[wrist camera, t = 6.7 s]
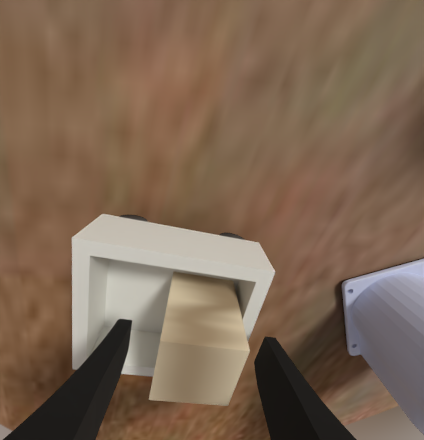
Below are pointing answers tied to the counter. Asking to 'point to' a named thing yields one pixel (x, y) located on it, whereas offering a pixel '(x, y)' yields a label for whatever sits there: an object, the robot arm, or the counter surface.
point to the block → (200, 342)
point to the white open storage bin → (152, 281)
